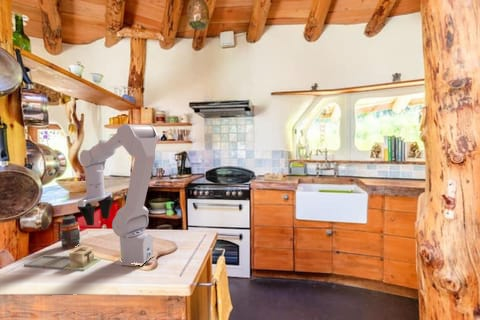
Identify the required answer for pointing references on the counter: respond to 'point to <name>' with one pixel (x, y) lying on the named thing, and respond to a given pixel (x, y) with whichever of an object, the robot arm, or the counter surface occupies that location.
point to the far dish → (42, 261)
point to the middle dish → (59, 263)
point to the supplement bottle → (70, 233)
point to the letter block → (81, 257)
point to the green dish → (85, 267)
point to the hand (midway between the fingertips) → (98, 221)
